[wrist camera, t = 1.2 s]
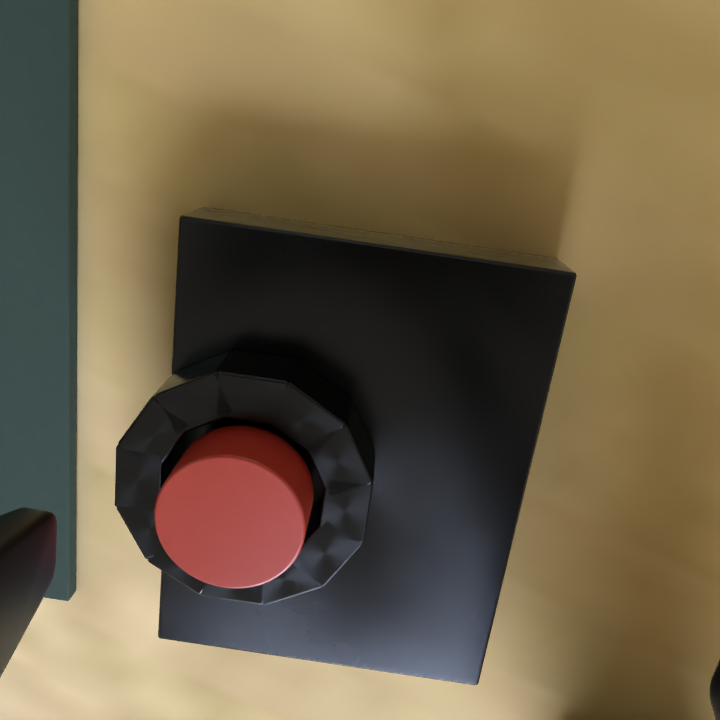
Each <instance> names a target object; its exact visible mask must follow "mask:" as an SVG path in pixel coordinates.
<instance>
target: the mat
mask: <svg viewBox="0 0 720 720" xmlns="http://www.w3.org/2000/svg"><path fill="white" fill-rule="evenodd" d="M77 159H78V0H0V515H3V514H5V513H8V512H11V511H14V510H16V509H19V508H23V507H27V508H33V509H39V510H44V511H50V512H52V513H53V514H54V515H55V517H56V521H57V539H56V567H55V572H54V576H53V579H52V582H51V584H50V586H49V588H48V590H47V592H46V593H45V595H44V597H45V598H51V599H58V600H65V601H68V600H70V598H71V597H72V595H73V594H74V592H75V591H76V432H77Z"/></svg>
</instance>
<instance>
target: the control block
mask: <svg viewBox="0 0 720 720" xmlns="http://www.w3.org/2000/svg"><path fill="white" fill-rule="evenodd" d="M576 277H577V276H576V273H575V272H574V271H572V270H571V269H570V268H568V267H567V266H566V265H565V264H563V263H562V262H561V261H559V260H558V259H557V258H552V257H545V256H538V255H531V254H524V253H517V252H511V251H504V250H497V249H490V248H483V247H476V246H469V245H462V244H455V243H449V242H442V241H435V240H428V239H421V238H414V237H407V236H400V235H393V234H387V233H380V232H373V231H366V230H359V229H352V228H345V227H338V226H331V225H324V224H318V223H311V222H304V221H297V220H290V219H283V218H276V217H269V216H262V215H256V214H249V213H242V212H235V211H228V210H221V209H214V208H207V207H204V208H201V209H198V210H195V211H193V212H190V213H188V214H185V215H182V216H180V218H179V238H178V258H177V277H176V297H175V316H174V336H173V356H172V375H171V377H170V378H169V379H168V380H167V381H166V382H165V383H164V384H163V385H162V386H161V387H160V388H159V390H158V391H157V392H156V393H155V394H154V395H153V396H152V397H151V398H150V400H149V401H148V403H147V404H146V405H145V407H144V408H143V409H142V411H141V412H140V414H139V415H138V416H137V418H136V419H135V420H134V422H133V423H132V425H131V426H130V427H129V429H128V430H127V431H126V433H125V434H124V436H123V437H122V438H121V440H120V441H119V444H118V446H117V447H116V484H115V506H117V510H118V511H119V513H120V515H121V517H122V518H123V520H124V522H125V524H126V525H127V527H128V529H129V531H130V532H131V534H132V536H133V538H134V539H135V541H136V543H137V545H138V546H139V548H140V550H141V551H142V553H143V555H144V557H145V558H146V559H148V561H149V562H150V563H151V564H153V565H154V566H156V567H157V568H159V569H161V570H162V571H161V591H160V610H159V630H158V637H159V638H162V639H169V640H176V641H182V642H189V643H196V644H203V645H209V646H216V647H223V648H229V649H236V650H243V651H250V652H256V653H263V654H270V655H276V656H283V657H290V658H297V659H303V660H310V661H317V662H323V663H330V664H337V665H344V666H350V667H357V668H364V669H370V670H377V671H384V672H391V673H397V674H404V675H411V676H417V677H424V678H431V679H438V680H444V681H451V682H458V683H464V684H471V685H477V684H478V682H479V678H480V674H481V670H482V666H483V661H484V657H485V653H486V649H487V645H488V641H489V637H490V632H491V628H492V624H493V620H494V616H495V612H496V608H497V603H498V599H499V595H500V591H501V587H502V583H503V579H504V575H505V570H506V566H507V562H508V558H509V554H510V550H511V546H512V541H513V537H514V533H515V529H516V525H517V521H518V517H519V512H520V508H521V504H522V500H523V496H524V492H525V488H526V483H527V479H528V475H529V471H530V467H531V463H532V459H533V454H534V450H535V446H536V442H537V438H538V434H539V430H540V426H541V421H542V417H543V413H544V409H545V405H546V401H547V397H548V392H549V388H550V384H551V380H552V376H553V372H554V368H555V363H556V359H557V355H558V351H559V347H560V343H561V339H562V334H563V330H564V326H565V322H566V318H567V314H568V310H569V305H570V301H571V297H572V293H573V289H574V285H575V281H576ZM238 425H242V426H252V427H257V428H261V429H264V430H267V431H269V432H271V433H274V434H276V435H278V436H279V437H281V438H282V439H284V440H285V441H287V442H288V443H289V444H290V445H291V446H293V448H294V449H295V450H296V451H297V452H298V453H299V454H300V456H301V457H302V458H303V460H304V461H305V463H306V465H307V467H308V469H309V471H310V474H311V477H312V481H313V489H314V497H313V504H312V509H311V513H310V518H309V522H308V526H307V531H306V535H305V539H304V543H303V546H302V549H301V551H300V553H299V555H298V557H297V558H296V560H295V561H294V562H293V564H292V565H291V566H290V567H289V568H288V569H287V570H286V571H285V572H283V573H282V574H281V575H279V576H278V577H276V578H274V579H273V580H271V581H269V582H266V583H264V584H261V585H257V586H254V587H248V588H224V587H219V586H214V585H211V584H208V583H205V582H203V581H201V580H198V579H196V578H194V577H193V576H191V575H189V574H188V573H186V572H185V571H184V570H182V569H181V568H180V567H179V566H178V565H177V564H176V563H175V562H174V561H173V560H172V559H171V558H170V557H169V555H168V554H167V553H166V551H165V550H164V548H163V546H162V544H161V542H160V540H159V538H158V534H157V531H156V526H155V519H154V510H155V503H156V499H157V496H158V493H159V491H160V489H161V487H162V485H163V484H164V482H165V481H166V479H167V478H168V476H169V475H170V473H171V472H172V470H173V469H174V467H175V466H176V464H177V463H178V461H179V460H180V458H181V457H182V455H183V454H184V452H185V451H186V449H187V448H188V447H189V446H190V445H191V444H192V443H193V442H194V441H195V440H196V439H198V438H199V437H201V436H202V435H204V434H205V433H208V432H210V431H212V430H215V429H218V428H221V427H227V426H238Z"/></svg>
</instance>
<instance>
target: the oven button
mask: <svg viewBox="0 0 720 720" xmlns="http://www.w3.org/2000/svg"><path fill="white" fill-rule="evenodd" d="M313 497H314V489H313V481H312V477H311V474H310V471H309V469H308V467H307V465H306V463H305V461H304V460H303V458H302V457H301V456H300V454H299V453H298V452H297V451H296V450H295V449H294V448H293V446H291V445H290V444H289V443H288V442H287V441H285V440H284V439H282V438H281V437H279V436H278V435H276V434H274V433H271V432H269V431H267V430H264V429H261V428H257V427H252V426H242V425H238V426H227V427H221V428H218V429H215V430H212V431H210V432H208V433H205V434H204V435H202V436H201V437H199V438H198V439H196V440H195V441H194V442H193V443H192V444H191V445H190V446H189V447H188V448H187V449H186V451H185V452H184V454H183V455H182V457H181V458H180V460H179V461H178V463H177V464H176V466H175V467H174V469H173V470H172V472H171V473H170V475H169V476H168V478H167V479H166V481H165V482H164V484H163V485H162V487H161V489H160V491H159V493H158V496H157V499H156V503H155V510H154V519H155V526H156V531H157V534H158V538H159V540H160V542H161V544H162V546H163V548H164V550H165V551H166V553H167V554H168V555H169V557H170V558H171V559H172V560H173V561H174V562H175V563H176V564H177V565H178V566H179V567H180V568H181V569H182V570H184V571H185V572H186V573H188V574H189V575H191V576H193V577H194V578H196V579H198V580H201V581H203V582H205V583H208V584H211V585H214V586H219V587H224V588H248V587H254V586H257V585H261V584H264V583H266V582H269V581H271V580H273V579H274V578H276V577H278V576H279V575H281V574H282V573H283V572H285V571H286V570H287V569H288V568H289V567H290V566H291V565H292V564H293V562H294V561H295V560H296V558H297V557H298V555H299V553H300V551H301V549H302V546H303V543H304V539H305V535H306V531H307V526H308V522H309V518H310V513H311V509H312V504H313Z"/></svg>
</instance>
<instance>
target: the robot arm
mask: <svg viewBox="0 0 720 720" xmlns="http://www.w3.org/2000/svg"><path fill="white" fill-rule="evenodd" d="M56 539H57V521H56V517H55V515H54V514H53V513H52V512H50V511H44V510H39V509H33V508H27V507H23V508H19V509H16V510H14V511H11V512H8V513H5V514H3V515H0V677H1V675H2V673H3V672H4V670H5V668H6V666H7V664H8V662H9V660H10V659H11V657H12V655H13V653H14V651H15V649H16V647H17V646H18V644H19V642H20V640H21V638H22V636H23V634H24V632H25V631H26V629H27V627H28V625H29V623H30V621H31V619H32V618H33V616H34V614H35V612H36V610H37V608H38V606H39V605H40V603H41V601H42V599H43V597H44V595H45V593H46V592H47V590H48V588H49V586H50V584H51V582H52V579H53V576H54V572H55V567H56ZM710 700H711V704H712V707H713V711H714V714H715V718H716V720H720V660H719V662H718V665H717V667H716V670H715V672H714V675H713V677H712V680H711V684H710Z"/></svg>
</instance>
